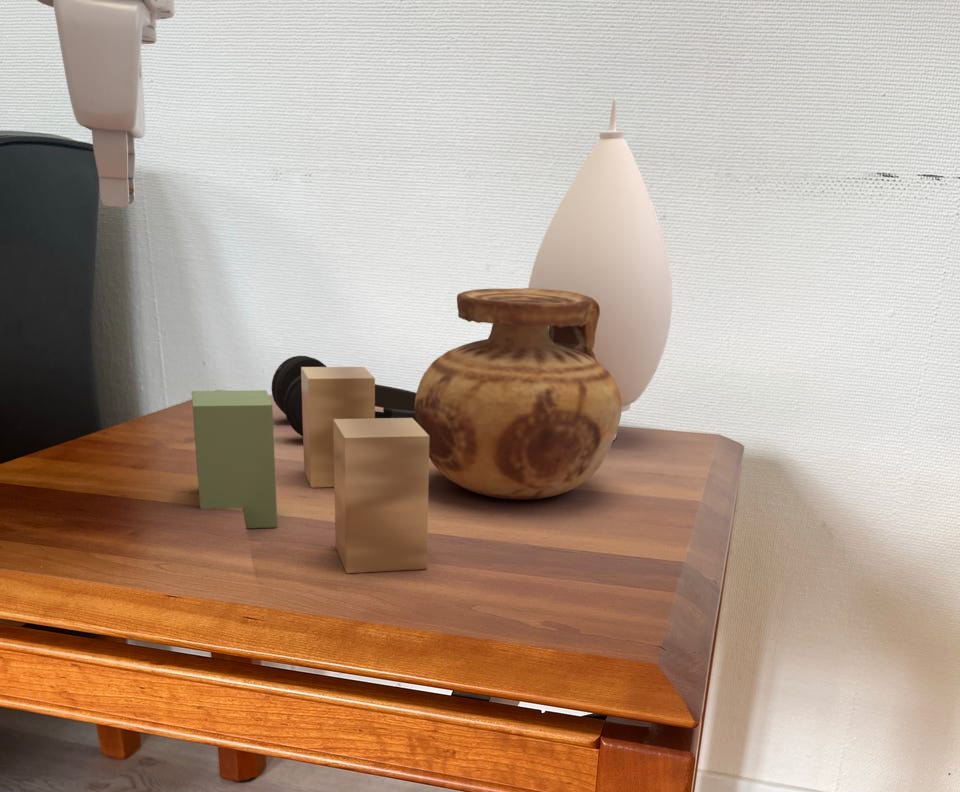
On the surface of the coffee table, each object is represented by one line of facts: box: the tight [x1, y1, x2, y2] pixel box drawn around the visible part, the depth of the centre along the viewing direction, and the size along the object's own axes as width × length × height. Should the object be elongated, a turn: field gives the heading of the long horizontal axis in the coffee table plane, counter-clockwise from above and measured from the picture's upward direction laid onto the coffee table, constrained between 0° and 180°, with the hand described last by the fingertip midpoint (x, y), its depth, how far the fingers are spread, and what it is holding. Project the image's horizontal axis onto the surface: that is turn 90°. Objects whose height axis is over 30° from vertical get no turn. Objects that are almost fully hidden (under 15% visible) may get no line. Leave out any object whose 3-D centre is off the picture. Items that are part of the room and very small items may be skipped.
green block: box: [191, 389, 278, 530], centre depth 83 cm, size 6×6×10 cm
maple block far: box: [301, 366, 376, 489], centre depth 96 cm, size 6×6×10 cm
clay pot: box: [415, 287, 622, 501], centre depth 94 cm, size 19×19×20 cm
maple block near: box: [333, 418, 430, 574], centre depth 76 cm, size 6×6×10 cm
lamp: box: [527, 97, 673, 436], centre depth 112 cm, size 16×16×35 cm
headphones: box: [271, 355, 417, 437], centre depth 117 cm, size 17×8×20 cm
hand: (119, 205), depth 73 cm, fingers open, 8 cm apart
